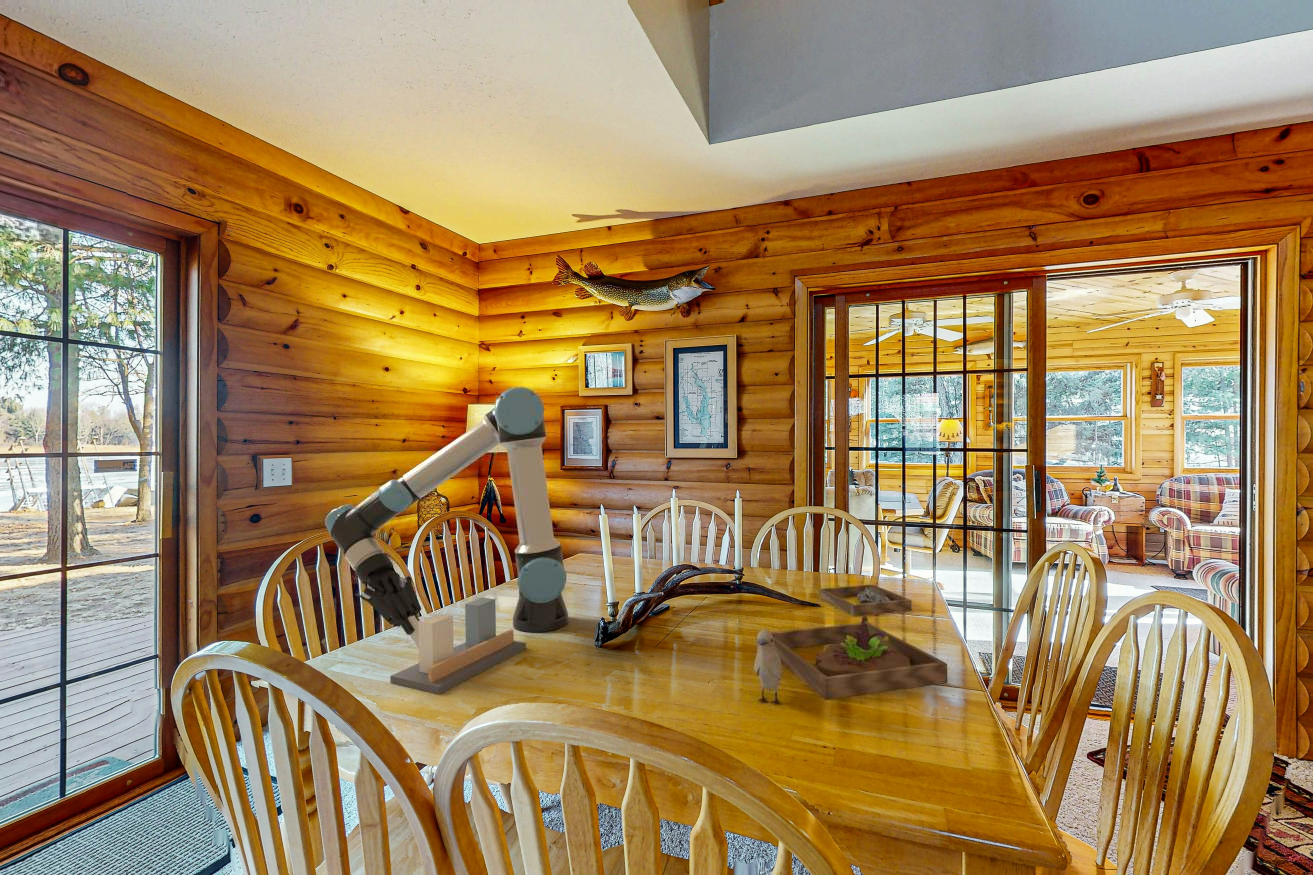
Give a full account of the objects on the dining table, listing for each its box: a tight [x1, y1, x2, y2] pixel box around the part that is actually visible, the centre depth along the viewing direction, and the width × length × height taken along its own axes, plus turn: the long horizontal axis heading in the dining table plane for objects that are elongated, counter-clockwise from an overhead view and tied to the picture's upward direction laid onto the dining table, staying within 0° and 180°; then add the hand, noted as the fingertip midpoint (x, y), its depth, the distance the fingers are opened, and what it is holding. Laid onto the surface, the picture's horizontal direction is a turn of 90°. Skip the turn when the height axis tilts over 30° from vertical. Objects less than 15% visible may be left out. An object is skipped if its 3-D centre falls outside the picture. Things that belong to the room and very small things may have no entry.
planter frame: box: [769, 621, 948, 701], centre depth 133 cm, size 28×28×4 cm
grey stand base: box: [389, 629, 527, 695], centre depth 137 cm, size 14×28×4 cm, turn 154°
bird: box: [753, 628, 783, 706], centre depth 115 cm, size 5×14×15 cm, turn 158°
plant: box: [815, 615, 912, 677], centre depth 132 cm, size 20×20×11 cm
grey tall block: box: [464, 597, 497, 650], centre depth 143 cm, size 4×6×11 cm, turn 154°
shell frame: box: [818, 583, 912, 617], centre depth 179 cm, size 19×19×3 cm
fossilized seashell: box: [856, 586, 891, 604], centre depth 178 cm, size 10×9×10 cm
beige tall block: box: [418, 613, 454, 673], centre depth 131 cm, size 4×6×11 cm, turn 154°
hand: (423, 642), depth 132 cm, fingers closed
